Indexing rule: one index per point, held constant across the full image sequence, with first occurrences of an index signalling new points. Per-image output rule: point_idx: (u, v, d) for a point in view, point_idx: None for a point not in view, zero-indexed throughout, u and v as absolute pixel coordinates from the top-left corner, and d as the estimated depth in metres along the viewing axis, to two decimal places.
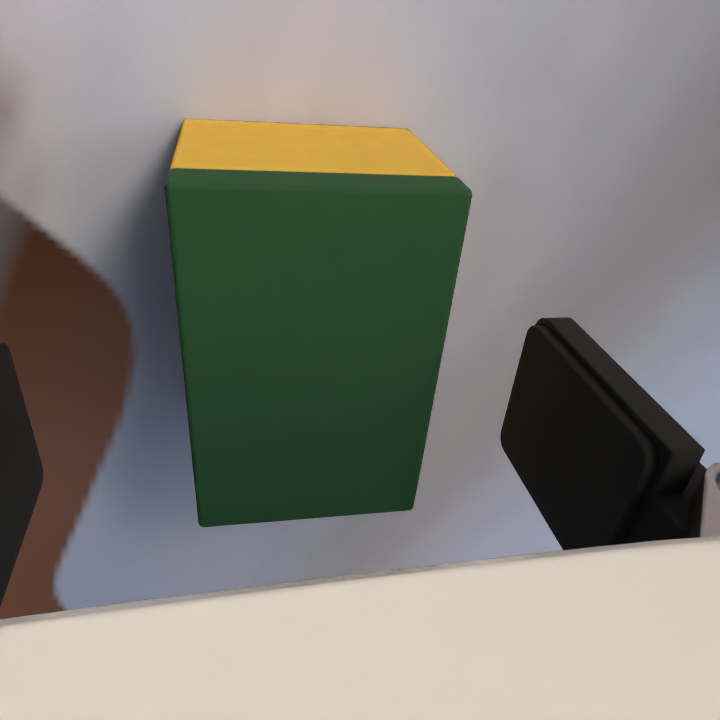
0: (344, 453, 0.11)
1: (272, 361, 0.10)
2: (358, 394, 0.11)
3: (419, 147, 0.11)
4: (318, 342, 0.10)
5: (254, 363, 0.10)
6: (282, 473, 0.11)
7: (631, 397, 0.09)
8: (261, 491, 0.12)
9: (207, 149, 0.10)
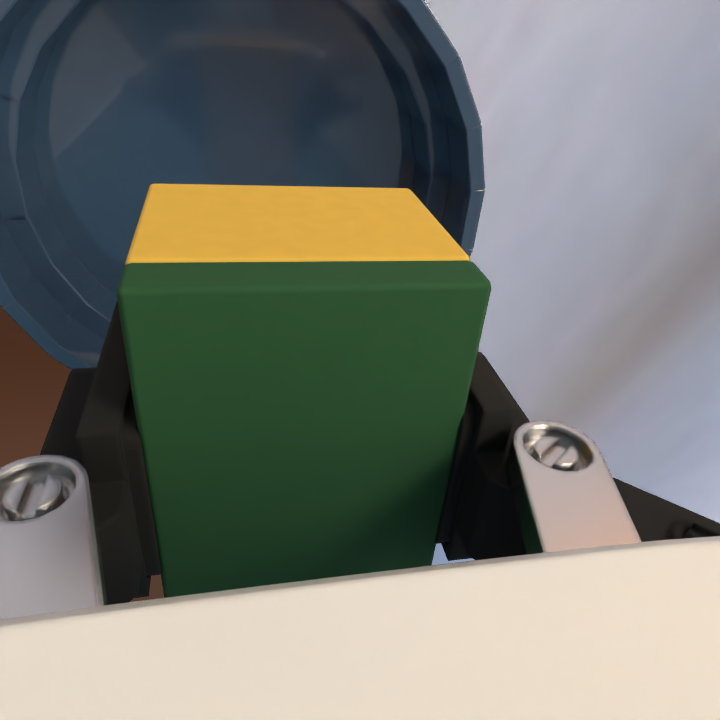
0: (341, 567, 0.10)
1: (254, 477, 0.08)
2: (357, 506, 0.09)
3: (423, 216, 0.09)
4: (308, 454, 0.08)
5: (233, 480, 0.08)
6: None
7: None
8: None
9: (173, 230, 0.08)
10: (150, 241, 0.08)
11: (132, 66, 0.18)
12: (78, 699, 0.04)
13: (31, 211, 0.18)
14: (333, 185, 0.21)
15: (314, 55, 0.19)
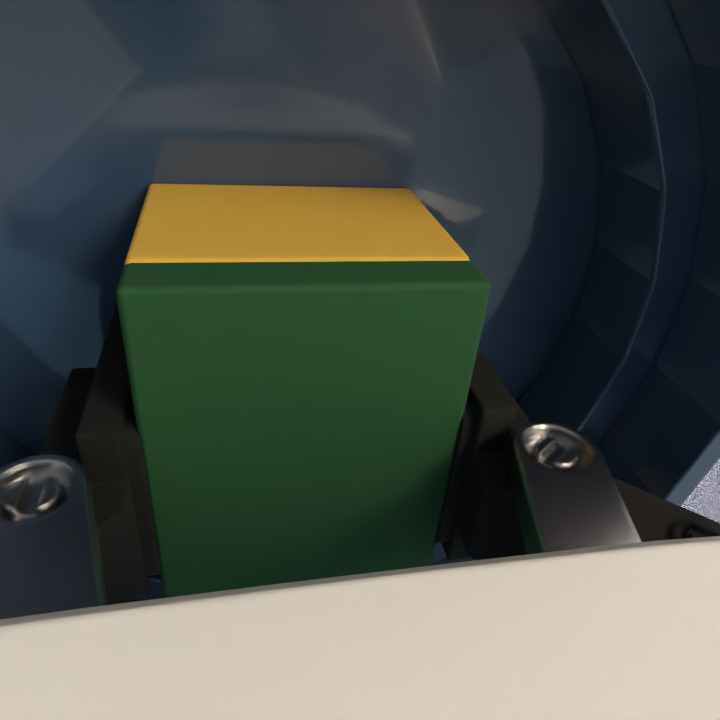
0: (340, 567, 0.10)
1: (254, 477, 0.08)
2: (356, 506, 0.09)
3: (423, 216, 0.09)
4: (308, 455, 0.08)
5: (232, 481, 0.08)
6: None
7: None
8: None
9: (173, 230, 0.08)
10: (149, 241, 0.08)
11: (81, 86, 0.09)
12: (78, 699, 0.04)
13: None
14: None
15: (442, 59, 0.10)
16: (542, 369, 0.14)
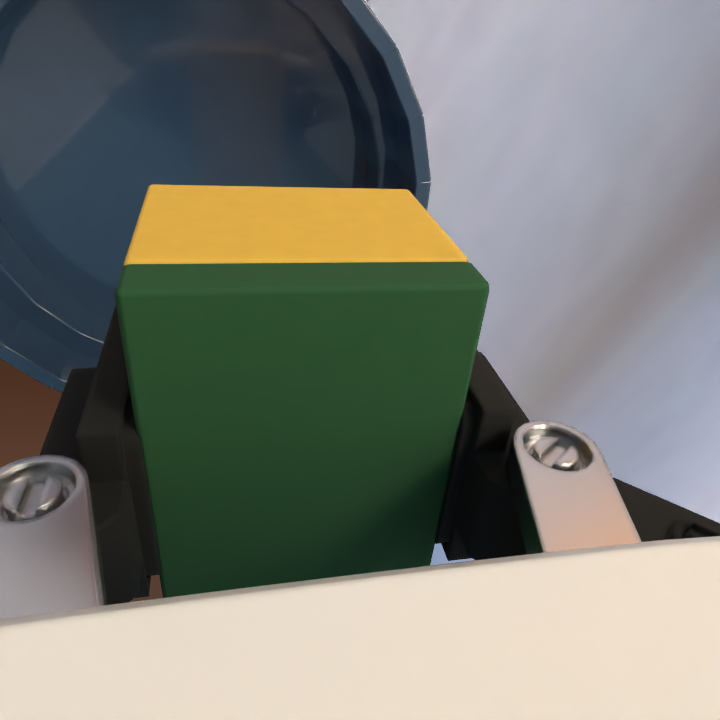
0: (339, 568, 0.10)
1: (253, 478, 0.08)
2: (355, 507, 0.09)
3: (421, 217, 0.09)
4: (308, 454, 0.08)
5: (231, 481, 0.08)
6: None
7: None
8: None
9: (172, 231, 0.08)
10: (148, 242, 0.08)
11: (74, 63, 0.18)
12: (78, 699, 0.04)
13: None
14: (285, 181, 0.21)
15: (259, 50, 0.19)
16: None
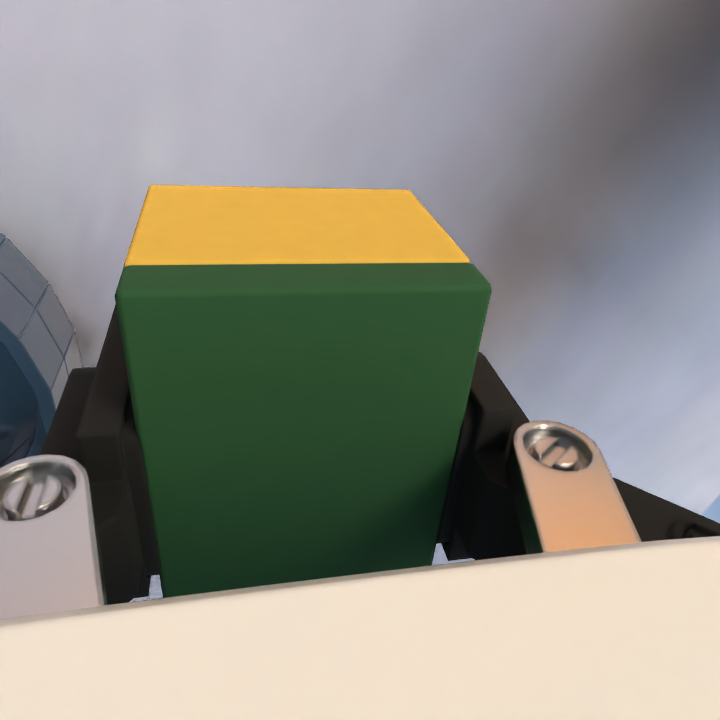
0: (340, 570, 0.10)
1: (254, 480, 0.08)
2: (356, 509, 0.09)
3: (423, 217, 0.09)
4: (308, 457, 0.08)
5: (232, 483, 0.08)
6: None
7: None
8: None
9: (172, 232, 0.08)
10: (149, 243, 0.08)
11: None
12: (78, 699, 0.04)
13: None
14: None
15: None
16: None
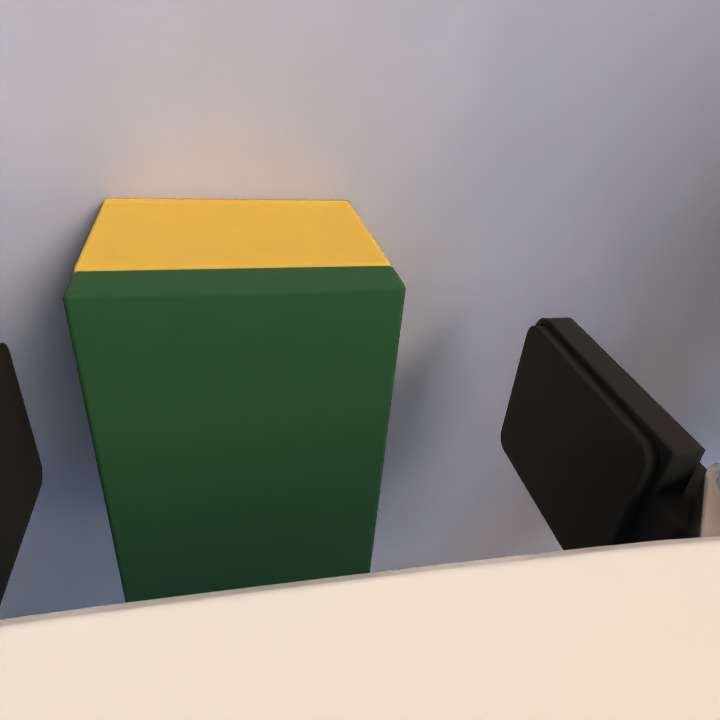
0: (286, 551, 0.11)
1: (199, 466, 0.09)
2: (297, 492, 0.10)
3: (355, 225, 0.10)
4: (248, 444, 0.09)
5: (179, 469, 0.09)
6: (220, 575, 0.11)
7: (631, 397, 0.09)
8: None
9: (121, 241, 0.09)
10: (98, 252, 0.08)
11: None
12: (78, 699, 0.04)
13: None
14: None
15: None
16: None
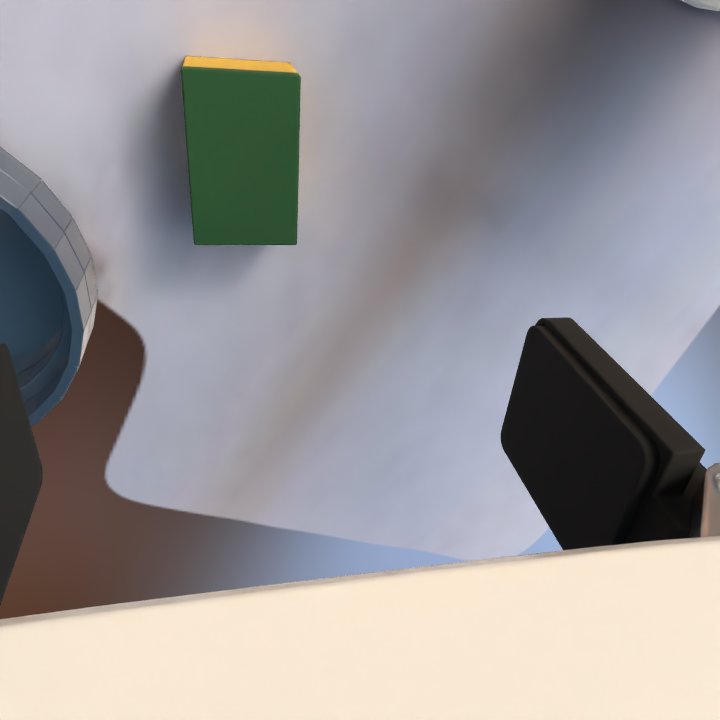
0: (259, 205, 0.25)
1: (224, 152, 0.24)
2: (263, 172, 0.25)
3: (288, 66, 0.25)
4: (243, 143, 0.24)
5: (216, 152, 0.24)
6: (231, 215, 0.25)
7: (631, 397, 0.09)
8: (222, 225, 0.26)
9: (196, 63, 0.24)
10: (189, 64, 0.23)
11: None
12: (78, 699, 0.04)
13: None
14: (4, 278, 0.28)
15: None
16: None
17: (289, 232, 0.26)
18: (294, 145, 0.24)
